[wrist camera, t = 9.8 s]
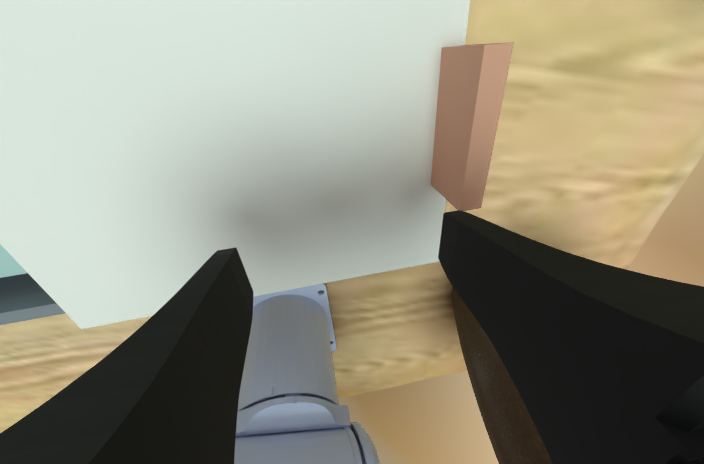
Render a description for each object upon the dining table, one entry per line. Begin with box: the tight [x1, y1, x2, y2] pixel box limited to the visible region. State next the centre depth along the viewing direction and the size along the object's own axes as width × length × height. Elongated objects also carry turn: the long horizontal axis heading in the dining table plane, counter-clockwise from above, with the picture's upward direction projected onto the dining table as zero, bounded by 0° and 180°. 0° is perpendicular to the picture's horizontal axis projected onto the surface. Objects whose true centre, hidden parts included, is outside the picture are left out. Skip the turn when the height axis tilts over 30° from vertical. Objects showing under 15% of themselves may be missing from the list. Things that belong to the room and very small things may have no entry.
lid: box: [0, 0, 514, 329], centre depth 11 cm, size 17×21×4 cm
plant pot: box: [452, 288, 553, 464], centre depth 22 cm, size 15×15×16 cm
